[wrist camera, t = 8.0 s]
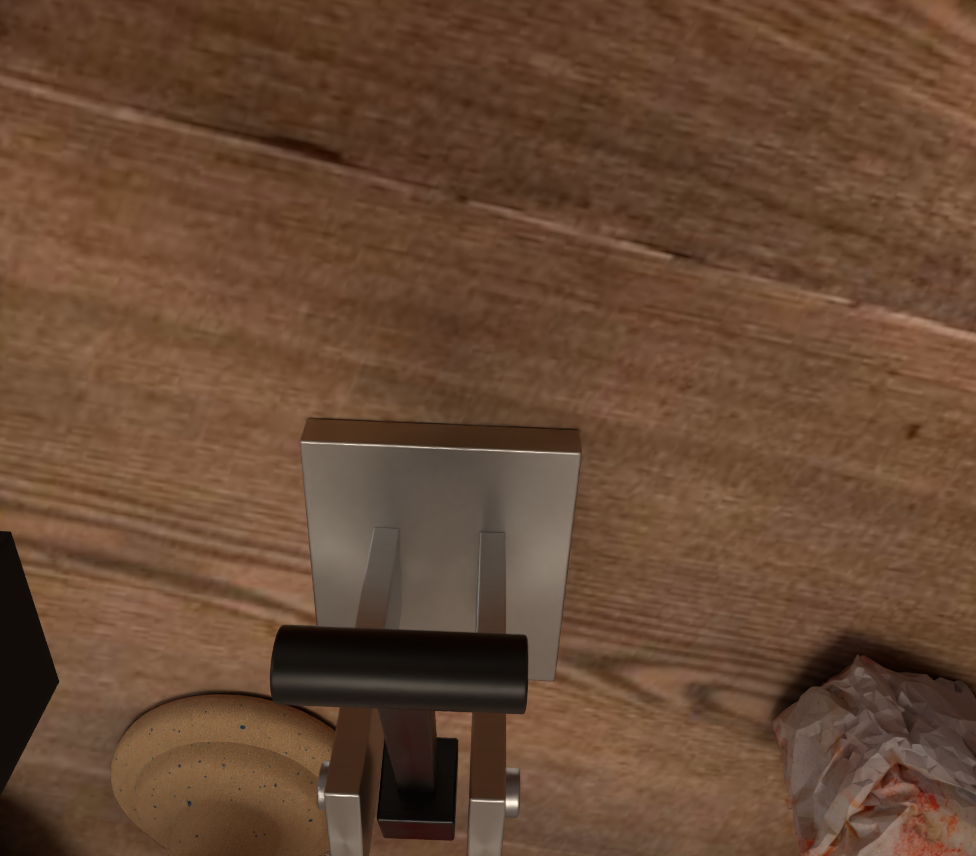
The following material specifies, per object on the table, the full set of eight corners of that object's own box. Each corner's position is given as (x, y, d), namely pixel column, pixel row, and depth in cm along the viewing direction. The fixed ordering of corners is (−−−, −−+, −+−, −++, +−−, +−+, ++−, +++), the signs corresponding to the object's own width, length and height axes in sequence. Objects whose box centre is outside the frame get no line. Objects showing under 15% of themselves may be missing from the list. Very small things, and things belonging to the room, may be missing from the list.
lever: (281, 593, 18) (261, 712, 17) (529, 603, 18) (528, 723, 17) (346, 756, 29) (337, 836, 28) (501, 762, 29) (499, 843, 28)
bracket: (306, 417, 33) (213, 697, 23) (579, 429, 33) (613, 713, 23) (326, 646, 40) (261, 945, 29) (553, 655, 40) (570, 957, 29)
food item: (734, 724, 42) (789, 940, 34) (844, 614, 38) (936, 830, 30) (961, 805, 46) (1061, 1021, 37) (1084, 712, 42) (1226, 931, 33)
